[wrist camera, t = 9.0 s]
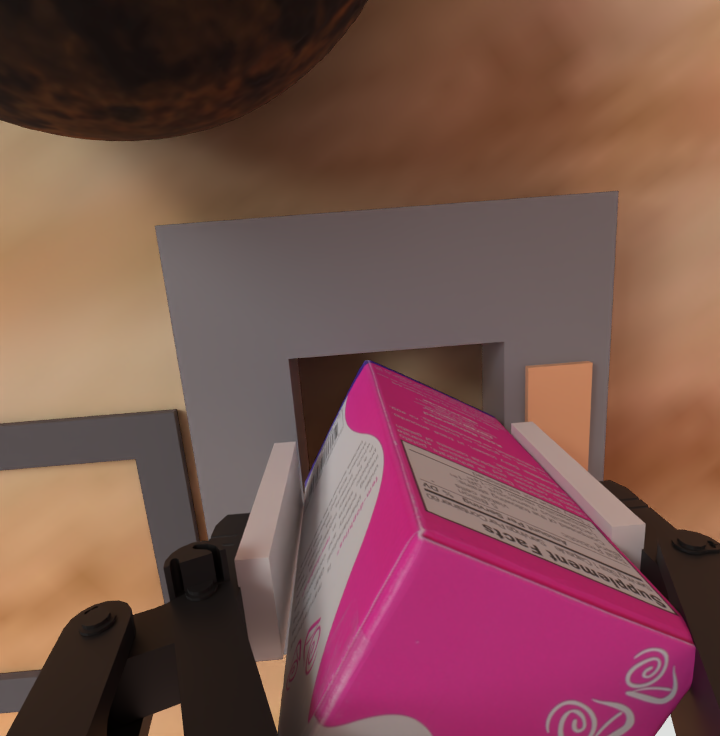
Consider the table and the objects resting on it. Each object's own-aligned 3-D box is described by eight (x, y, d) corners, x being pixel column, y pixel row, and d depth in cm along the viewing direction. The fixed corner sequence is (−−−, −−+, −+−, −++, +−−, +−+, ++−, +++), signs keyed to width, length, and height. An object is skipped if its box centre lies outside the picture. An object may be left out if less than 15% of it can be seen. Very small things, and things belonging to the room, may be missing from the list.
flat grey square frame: (-172, 437, 21) (-181, 441, 20) (176, 409, 21) (173, 412, 21) (-71, 712, 24) (-78, 720, 24) (225, 685, 25) (223, 692, 24)
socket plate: (183, 229, 19) (151, 225, 16) (577, 199, 20) (623, 189, 16) (242, 609, 24) (227, 665, 20) (564, 580, 24) (599, 631, 21)
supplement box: (433, 537, 20) (547, 905, 9) (302, 482, 19) (242, 810, 8) (503, 416, 19) (736, 664, 8) (365, 352, 18) (399, 525, 7)
